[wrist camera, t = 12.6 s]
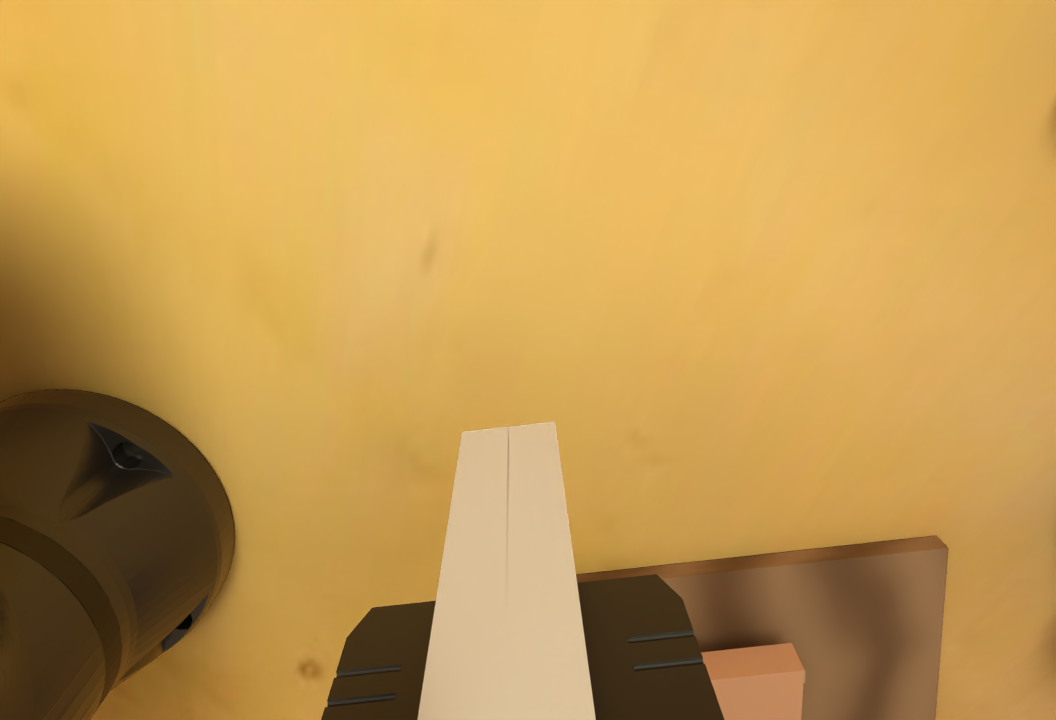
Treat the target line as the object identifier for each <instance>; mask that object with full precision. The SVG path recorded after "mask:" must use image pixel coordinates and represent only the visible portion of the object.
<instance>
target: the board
mask: <svg viewBox="0 0 1056 720" xmlns="http://www.w3.org/2000/svg"><path fill="white" fill-rule="evenodd" d="M947 560H948V547H947V546H946V545H945V544H944V543H943V542H942V541H941V540H940V539H939V538H938V537H937V536H928V537H919V538H910V539H901V540H891V541H882V542H873V543H864V544H854V545H845V546H836V547H827V548H818V549H808V550H799V551H790V552H781V553H772V554H762V555H753V556H744V557H735V558H726V559H716V560H707V561H698V562H689V563H680V564H670V565H661V566H652V567H643V568H633V569H624V570H615V571H606V572H597V573H587V574H578V575H576V578H577V583H579V582H588V581H597V580H607V579H616V578H625V577H634V576H643V575H653V574H657V575H658V576H659V577H660V578H661V579H662V580H663V581H664V582H665V583H666V584H668V585H669V586H670V587H671V588H672V589H673V590H674V591H675V592H676V593H677V594H678V595H679V596H680V597H681V598H682V599H683V602H684V604H685V607H686V610H687V613H688V616H689V619H690V622H691V625H692V628H693V632H694V636H696V639H697V642H698V645H699V648H700V651H701V652H710V651H719V650H729V649H738V648H748V647H757V646H766V645H776V644H785V643H792V644H793V647H794V649H795V651H796V653H797V655H798V657H799V660H800V662H801V664H802V666H803V668H804V683H803V698H802V713H801V720H935V717H936V704H937V691H938V678H939V665H940V652H941V639H942V626H943V613H944V599H945V586H946V573H947Z"/></svg>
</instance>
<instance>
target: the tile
mask: <svg viewBox="0 0 1056 720" xmlns="http://www.w3.org/2000/svg"><path fill="white" fill-rule="evenodd" d="M701 654H702V656H703V662H704V664H705V665H706V668H707V671H708V674H709V677H710V679H711V682H712V685H713V688H714V691H715V694H716V697H717V700H718V703H719V705H720V708H721V711H722V714H723V717H724V720H801V713H802V698H803V683H804V668H803V666H802V664H801V662H800V660H799V657H798V655H797V653H796V651H795V649H794V647H793V644H792V643H785V644H776V645H766V646H757V647H748V648H738V649H729V650H719V651H710V652H701Z"/></svg>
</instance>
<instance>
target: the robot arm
mask: <svg viewBox="0 0 1056 720" xmlns="http://www.w3.org/2000/svg"><path fill="white" fill-rule="evenodd" d="M233 549H234V525H233V518H232V514H231V509H230V506H229V503H228V499H227V497H226V494H225V492H224V489H223V487H222V485H221V483H220V481H219V479H218V478H217V476H216V474H215V473H214V471H213V469H212V468H211V467H210V465H209V464H208V462H207V461H206V460H205V458H204V457H203V456H202V455H201V453H200V452H199V451H198V450H197V449H196V448H195V447H194V446H193V445H192V444H191V443H190V442H189V441H188V440H187V439H186V438H185V437H184V436H183V435H181V434H180V433H179V432H178V431H177V430H175V429H174V428H173V427H171V426H170V425H169V424H167V423H166V422H164V421H163V420H161V419H160V418H158V417H156V416H155V415H153V414H151V413H149V412H147V411H146V410H143V409H141V408H139V407H137V406H135V405H133V404H130V403H128V402H125V401H122V400H119V399H116V398H113V397H110V396H106V395H102V394H97V393H92V392H86V391H78V390H45V391H38V392H31V393H27V394H23V395H19V396H16V397H13V398H10V399H7V400H5V401H2V402H0V720H90V719H91V717H92V716H93V714H94V713H95V712H96V710H97V709H98V707H99V706H100V704H101V703H102V701H103V700H104V699H105V697H106V696H107V694H108V693H109V691H111V690H112V689H113V688H115V687H116V686H117V685H119V684H120V683H122V682H123V681H124V680H126V679H127V678H129V677H130V676H131V675H133V674H134V673H136V672H137V671H138V670H140V669H141V668H143V667H144V666H145V665H147V664H148V663H150V662H151V661H152V660H154V659H155V658H156V657H158V656H159V655H160V654H162V653H163V652H164V651H166V650H168V649H169V648H171V647H172V646H173V645H174V644H176V643H177V642H178V641H180V640H181V639H182V638H183V637H184V636H185V635H187V634H188V633H189V632H190V631H191V630H192V628H193V627H194V626H195V625H196V624H197V623H198V622H199V621H200V619H201V618H202V617H203V615H204V614H205V612H206V611H207V609H208V608H209V606H210V604H211V603H212V601H213V600H214V598H215V596H216V595H217V593H218V591H219V590H220V588H221V586H222V584H223V583H224V581H225V579H226V576H227V574H228V571H229V568H230V565H231V561H232V556H233ZM336 672H337V677H336V678H334V681H333V684H332V687H331V690H330V693H329V697H328V700H327V701H328V706H327V707H325V709H324V713H323V716H322V719H321V720H724V717H723V714H722V711H721V708H720V705H719V703H718V700H717V697H716V694H715V691H714V688H713V685H712V682H711V679H710V677H709V674H708V671H707V668H706V665H705V664H704V662H703V656H702V654H701V651H700V648H699V645H698V642H697V639H696V636H694V632H693V628H692V625H691V622H690V619H689V616H688V613H687V610H686V607H685V604H684V602H683V599H682V598H681V597H680V596H679V595H678V594H677V593H676V592H675V591H674V590H673V589H672V588H671V587H670V586H669V585H668V584H666V583H665V582H664V581H663V580H662V579H661V578H660V577H659V576H658V575H657V574H653V575H643V576H634V577H625V578H616V579H607V580H597V581H588V582H579V583H577V578H576V571H575V564H574V556H573V549H572V542H571V534H570V527H569V520H568V512H567V505H566V498H565V490H564V483H563V476H562V468H561V461H560V454H559V446H558V439H557V432H556V424H555V421H552V422H543V423H534V424H525V425H516V426H508V427H499V428H490V429H481V430H472V431H463V432H462V436H461V442H460V449H459V455H458V462H457V468H456V474H455V481H454V487H453V494H452V500H451V507H450V513H449V519H448V526H447V532H446V539H445V545H444V552H443V558H442V565H441V571H440V577H439V584H438V590H437V597H436V601H430V602H421V603H412V604H403V605H393V606H384V607H375V608H372V609H371V610H370V611H369V612H368V613H367V615H366V616H365V617H364V618H363V619H362V620H361V622H360V623H359V624H358V625H357V626H356V628H355V629H354V630H353V631H352V632H351V633H350V635H349V636H348V637H347V639H346V642H345V645H344V649H343V652H342V655H341V658H340V661H339V665H338V668H337V671H336Z"/></svg>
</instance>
